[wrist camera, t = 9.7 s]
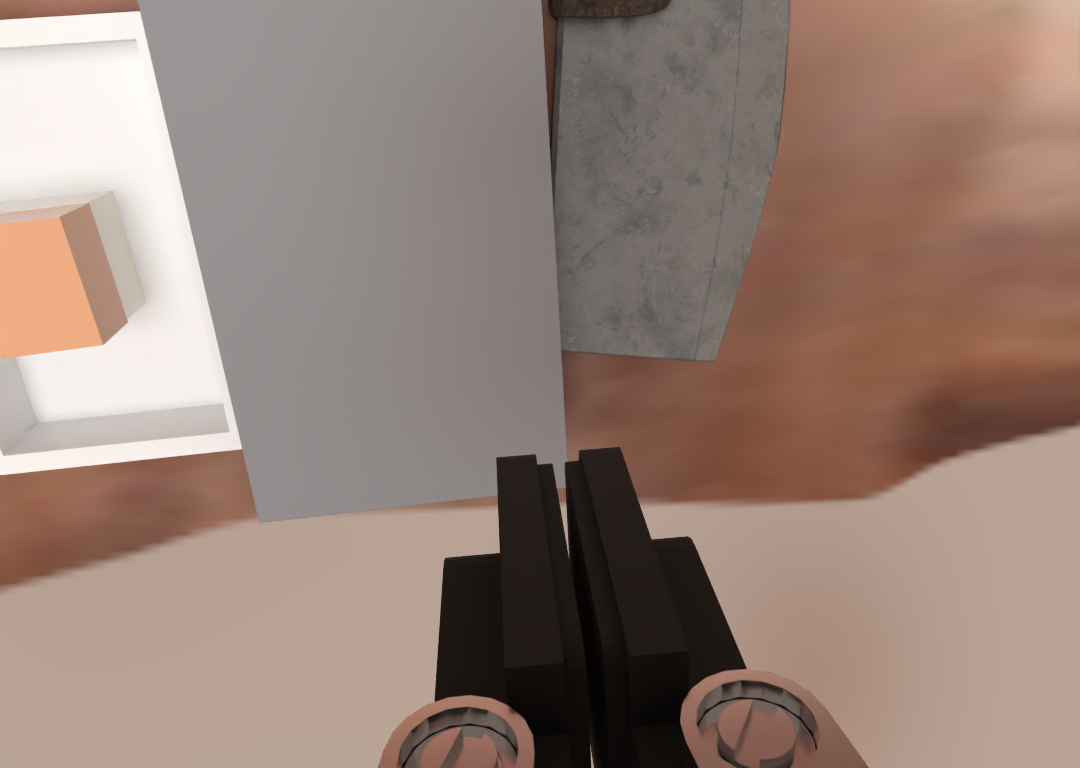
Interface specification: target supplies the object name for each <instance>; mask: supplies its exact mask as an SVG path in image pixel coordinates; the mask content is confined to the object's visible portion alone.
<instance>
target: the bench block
mask: <svg viewBox="0 0 1080 768" xmlns="http://www.w3.org/2000/svg"><path fill="white" fill-rule="evenodd" d="M137 1H138V5H139V9H140V14H141V18H142V22H143V26H144V31H145V35H146V39H147V44H148V48H149V52H150V56H151V61H152V65H153V69H154V74H155V78H156V82H157V86H158V91H159V95H160V99H161V103H162V108H163V112H164V116H165V121H166V125H167V129H168V133H169V138H170V142H171V146H172V151H173V155H174V159H175V163H176V168H177V172H178V176H179V181H180V185H181V189H182V193H183V198H184V202H185V206H186V210H187V215H188V219H189V223H190V228H191V232H192V236H193V240H194V245H195V249H196V253H197V258H198V262H199V266H200V270H201V275H202V279H203V283H204V287H205V292H206V296H207V300H208V305H209V309H210V313H211V317H212V322H213V326H214V330H215V335H216V339H217V343H218V347H219V352H220V356H221V360H222V365H223V369H224V373H225V377H226V382H227V386H228V390H229V394H230V399H231V403H232V407H233V412H234V416H235V420H236V424H237V429H238V433H239V437H240V442H241V446H242V450H243V454H244V459H245V463H246V467H247V471H248V476H249V480H250V484H251V489H252V493H253V497H254V501H255V506H256V510H257V514H258V519H259V522H260V523H263V522H272V521H280V520H289V519H298V518H306V517H315V516H324V515H333V514H341V513H350V512H359V511H367V510H376V509H385V508H393V507H402V506H411V505H420V504H428V503H437V502H446V501H454V500H463V499H472V498H480V497H489V496H498V490H497V466H496V457H507V456H519V455H531V454H536V458H537V464H549V463H553V469H554V474H555V480H556V486H557V489H559V488H566V485H565V462H567V446H566V428H565V410H564V392H563V375H562V357H561V339H560V321H559V303H558V286H557V268H556V250H555V232H554V214H553V197H552V179H551V161H550V143H549V125H548V108H547V90H546V72H545V54H544V36H543V19H542V1H541V0H137Z"/></svg>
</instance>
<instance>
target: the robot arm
mask: <svg viewBox="0 0 1080 768" xmlns="http://www.w3.org/2000/svg"><path fill="white" fill-rule="evenodd" d="M496 466H497V490H498V515H499V540H500V553H496V554H484V555H473V556H461V557H450V558H445V560H444V568H443V582H442V598H441V612H440V628H439V644H438V658H437V673H436V689H435V702H434V703H431V704H428V705H426V706H424V707H422V708H421V709H419V710H418V711H416V712H414V713H413V714H411V715H410V716H408V717H407V718H406V719H405V720H404V721H403V722H402V723H401V724H400V725H399V726H398V727H397V728H396V730H395V731H394V732H393V733H392V735H391V737H390V739H389V741H388V743H387V744H386V746H385V748H384V750H383V753H382V757H381V759H380V763H379V766H378V768H591V752H592V757H593V764H594V768H869V767H868V766H867V764H866V763H865V761H864V760H863V759H862V757H861V756H860V755H859V753H858V752H857V750H856V749H855V748H854V746H853V745H852V744H851V742H850V741H849V739H848V738H847V737H846V735H845V734H844V732H843V731H842V730H841V728H840V727H839V726H838V724H837V723H836V721H835V720H834V719H833V717H832V716H831V714H830V713H829V712H828V710H827V709H826V708H825V706H823V704H822V703H821V702H820V701H819V700H818V699H817V698H816V697H815V696H814V695H813V694H812V693H811V692H810V691H808V690H807V689H805V688H803V687H802V686H800V685H798V684H797V683H795V682H794V681H792V680H790V679H787V678H785V677H782V676H779V675H776V674H773V673H771V672H765V671H758V670H750V669H747V668H746V666H745V663H744V661H743V659H742V656H741V654H740V652H739V649H738V647H737V644H736V642H735V640H734V637H733V635H732V633H731V630H730V628H729V625H728V623H727V621H726V618H725V616H724V613H723V611H722V609H721V606H720V604H719V602H718V599H717V597H716V595H715V592H714V590H713V587H712V585H711V583H710V580H709V578H708V576H707V573H706V571H705V568H704V566H703V564H702V561H701V559H700V557H699V554H698V552H697V550H696V547H695V545H694V543H693V541H692V539H691V538H689V537H688V536H687V537H676V538H664V539H653V540H651V537H650V534H649V531H648V528H647V525H646V522H645V519H644V516H643V513H642V510H641V507H640V504H639V501H638V498H637V495H636V493H635V490H634V487H633V484H632V481H631V478H630V475H629V472H628V469H627V466H626V463H625V460H624V457H623V454H622V451H621V449H620V447H614V448H602V449H590V450H580V451H579V461H573V462H565V485H566V504H567V523H568V542H569V556H568V550H567V545H566V539H565V533H564V527H563V521H562V516H561V509H560V504H559V498H558V492H557V486H556V480H555V474H554V469H553V463H549V464H537V458H536V454H531V455H519V456H507V457H496ZM590 745H591V752H590Z"/></svg>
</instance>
